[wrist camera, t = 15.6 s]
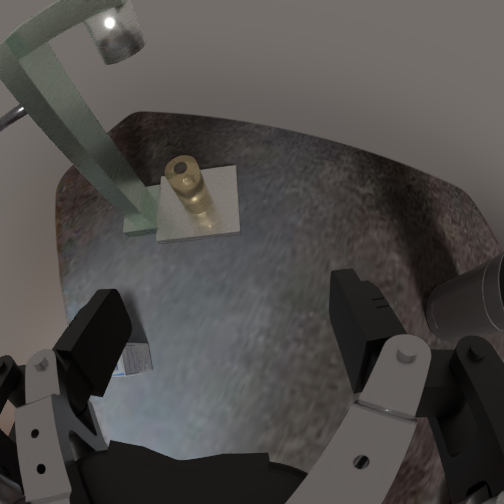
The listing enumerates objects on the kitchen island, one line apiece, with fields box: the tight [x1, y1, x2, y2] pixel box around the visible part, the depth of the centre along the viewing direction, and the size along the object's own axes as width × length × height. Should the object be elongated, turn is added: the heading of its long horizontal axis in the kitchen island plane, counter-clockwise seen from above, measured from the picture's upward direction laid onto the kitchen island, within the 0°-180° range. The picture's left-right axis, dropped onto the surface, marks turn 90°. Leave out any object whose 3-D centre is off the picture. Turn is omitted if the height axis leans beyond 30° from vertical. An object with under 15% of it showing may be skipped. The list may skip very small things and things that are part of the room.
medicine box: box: [112, 343, 153, 377], centre depth 33 cm, size 8×4×9 cm, turn 102°
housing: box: [165, 155, 211, 215], centre depth 38 cm, size 4×4×9 cm
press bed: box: [0, 0, 241, 244], centre depth 27 cm, size 30×12×37 cm, turn 95°
